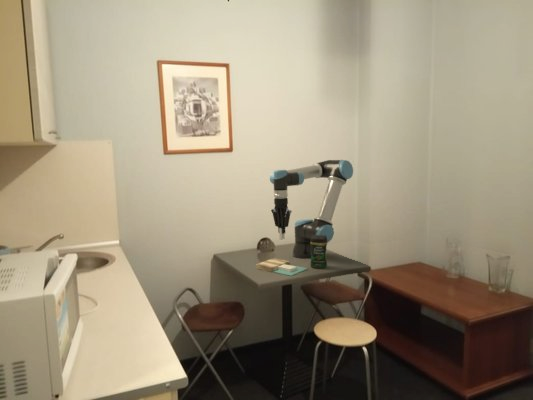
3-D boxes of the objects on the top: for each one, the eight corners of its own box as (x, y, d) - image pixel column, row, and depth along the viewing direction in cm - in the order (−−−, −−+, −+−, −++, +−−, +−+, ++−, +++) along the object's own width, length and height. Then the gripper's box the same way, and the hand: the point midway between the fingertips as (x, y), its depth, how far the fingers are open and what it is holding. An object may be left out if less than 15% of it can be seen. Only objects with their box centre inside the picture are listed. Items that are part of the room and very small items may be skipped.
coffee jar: (309, 268, 228) (309, 236, 226) (312, 264, 236) (311, 233, 234) (326, 269, 225) (326, 237, 223) (328, 265, 233) (328, 234, 231)
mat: (289, 265, 235) (289, 264, 235) (307, 269, 227) (307, 268, 227) (272, 272, 223) (272, 271, 223) (290, 276, 215) (290, 275, 215)
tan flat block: (273, 262, 243) (273, 258, 243) (289, 265, 236) (289, 261, 235) (256, 268, 231) (255, 264, 231) (272, 272, 223) (272, 267, 223)
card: (284, 266, 231) (284, 264, 231) (296, 269, 226) (296, 266, 225) (277, 269, 227) (277, 266, 227) (290, 272, 221) (290, 269, 221)
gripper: (267, 197, 226) (269, 239, 228) (286, 198, 217) (287, 241, 220) (275, 196, 231) (277, 236, 234) (294, 197, 223) (295, 239, 226)
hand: (282, 239), depth 227 cm, fingers closed
